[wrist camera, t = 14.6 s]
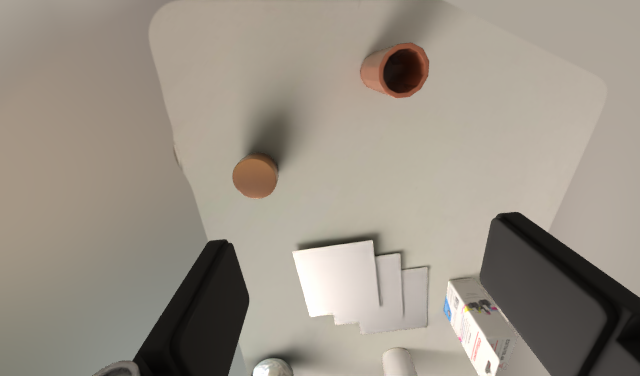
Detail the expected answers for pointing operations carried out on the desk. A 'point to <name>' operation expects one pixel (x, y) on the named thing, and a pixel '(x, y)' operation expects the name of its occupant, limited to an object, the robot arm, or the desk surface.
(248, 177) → the oak chip
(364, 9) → the desk surface
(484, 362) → the ink box
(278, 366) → the mug
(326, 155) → the desk surface
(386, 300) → the paper stack
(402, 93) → the terracotta cup
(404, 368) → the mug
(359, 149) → the desk surface
